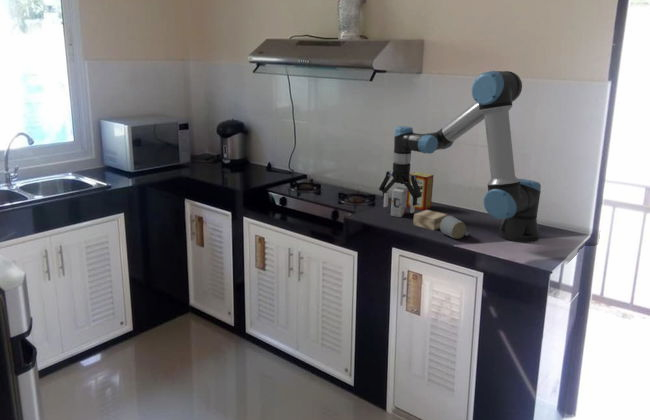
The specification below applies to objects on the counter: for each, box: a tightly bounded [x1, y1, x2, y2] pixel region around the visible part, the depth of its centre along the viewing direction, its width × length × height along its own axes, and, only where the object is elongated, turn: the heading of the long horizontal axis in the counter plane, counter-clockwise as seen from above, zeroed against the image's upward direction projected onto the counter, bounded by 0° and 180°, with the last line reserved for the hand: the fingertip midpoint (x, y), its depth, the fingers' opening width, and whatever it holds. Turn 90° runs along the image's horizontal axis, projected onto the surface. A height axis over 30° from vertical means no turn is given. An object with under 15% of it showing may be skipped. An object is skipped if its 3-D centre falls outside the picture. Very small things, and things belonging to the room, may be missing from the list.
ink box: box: [390, 186, 408, 218], centre depth 245 cm, size 9×5×12 cm, turn 155°
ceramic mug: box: [439, 215, 470, 240], centre depth 218 cm, size 11×8×8 cm
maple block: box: [412, 209, 448, 231], centre depth 232 cm, size 10×10×5 cm
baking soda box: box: [406, 171, 435, 211], centre depth 257 cm, size 10×6×16 cm
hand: (398, 209), depth 246 cm, fingers open, 13 cm apart
